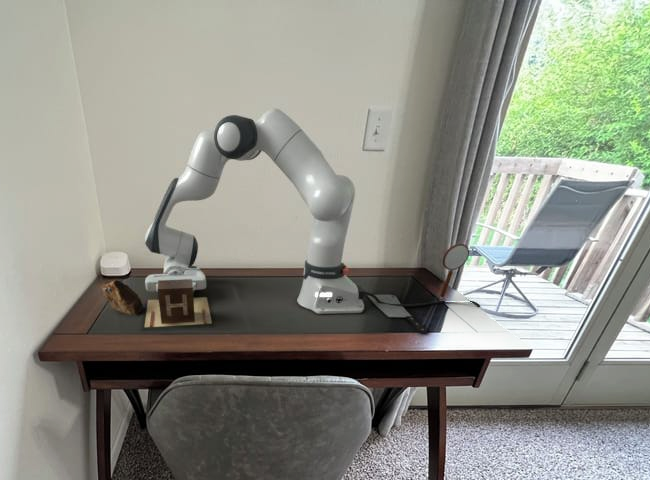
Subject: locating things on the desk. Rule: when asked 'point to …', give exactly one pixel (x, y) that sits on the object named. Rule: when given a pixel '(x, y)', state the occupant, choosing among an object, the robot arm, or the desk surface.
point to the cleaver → (396, 310)
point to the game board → (200, 318)
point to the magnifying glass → (454, 261)
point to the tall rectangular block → (176, 301)
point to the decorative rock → (122, 297)
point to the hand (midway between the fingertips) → (176, 291)
